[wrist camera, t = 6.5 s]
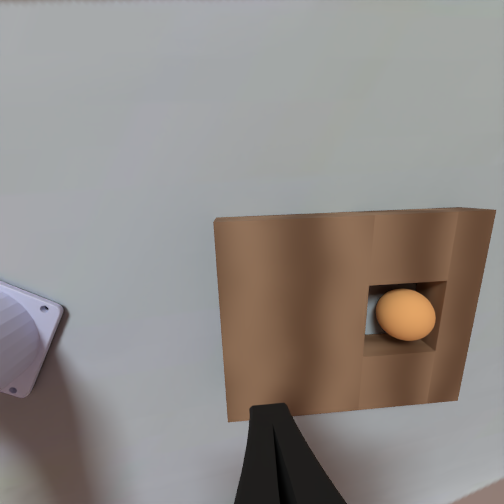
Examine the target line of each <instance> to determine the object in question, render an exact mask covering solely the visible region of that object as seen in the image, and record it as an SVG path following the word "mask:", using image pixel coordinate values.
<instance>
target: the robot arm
mask: <svg viewBox="0 0 504 504" xmlns="http://www.w3.org/2000/svg"><path fill="white" fill-rule="evenodd" d="M44 306H47V307H48V310H47V309H45V307H44ZM62 314H63V307H62V306H61V305H59V304H58V303H55V302H53V301H50V300H48V299H45V298H43V297H40V296H37V295H35V294H32V293H30V292H27V291H25V290H22V289H20V288H17V287H15V286H12V285H10V284H7V283H5V282H2V281H0V392H3V393H6V394H9V395H12V396H15V397H19V398H25V397H27V396H28V395H29V394H30V393H31V391H32V389H33V386H34V384H35V381H36V379H37V376H38V374H39V371H40V369H41V366H42V364H43V361H44V359H45V356H46V354H47V352H48V349H49V347H50V344H51V342H52V339H53V337H54V334H55V332H56V329H57V327H58V324H59V322H60V319H61V317H62ZM249 413H250V418H249V431H248V439H247V446H246V451H245V457H244V462H243V468H242V472H241V477H240V481H239V485H238V489H237V493H236V498H235V502H234V504H347V503H346V502H345V500H344V499H343V498H342V496H341V495H340V493H339V492H338V490H337V489H336V488H335V486H334V485H333V483H332V482H331V480H330V479H329V477H328V476H327V474H326V473H325V471H324V470H323V468H322V467H321V465H320V464H319V462H318V460H317V459H316V457H315V456H314V454H313V452H312V451H311V449H310V448H309V446H308V444H307V442H306V441H305V439H304V437H303V436H302V434H301V432H300V430H299V428H298V427H297V425H296V423H295V421H294V419H293V417H292V415H291V413H290V411H289V409H288V406H287V405H286V404H285V403H274V404H264V405H253V406H251V407H250V408H249Z"/></svg>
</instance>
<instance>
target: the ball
mask: <svg viewBox="0 0 504 504" xmlns="http://www.w3.org/2000/svg"><path fill="white" fill-rule="evenodd" d="M376 317H377V320H378V322H379V324H380V326H381V327H382V328H383V329H384V331H386V332H387V333H388V334H389V335H391V336H393V337H395V338H397V339H400V340H405V341H414V340H419V339H421V338H423V337H425V336H427V335H428V334H429V333H430V332H431V331H432V329H433V327H434V325H435V320H436V316H435V311H434V308H433V306H432V305H431V303H430V302H429V300H428V299H427V298H426V297H424V296H423V295H422V294H420V293H418V292H416V291H414V290H410V289H403V288H400V289H394V290H391V291H388V292H387V293H385V294H384V295H383V296H382V297H381V298H380V299H379V301H378V303H377V306H376Z"/></svg>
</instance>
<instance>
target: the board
mask: <svg viewBox="0 0 504 504" xmlns="http://www.w3.org/2000/svg"><path fill="white" fill-rule="evenodd" d="M495 214H496V210H491V209H476V208H462V207H456V208H432V209H409V210H385V211H362V212H338V213H315V214H291V215H268V216H244V217H221V218H216V219H215V221H214V222H213V223H214V237H215V251H216V264H217V278H218V292H219V305H220V319H221V333H222V346H223V360H224V374H225V387H226V401H227V415H228V422H236V421H247V420H249V418H250V413H249V408H250V407H251V406H253V405H264V404H274V403H285V404H286V405H287V406H288V409H289V411H290V413H291V415H292V416H300V415H310V414H321V413H331V412H342V411H352V410H363V409H373V408H384V407H395V406H405V405H416V404H426V403H437V402H447V401H458V396H459V391H460V386H461V381H462V376H463V371H464V366H465V362H466V357H467V352H468V347H469V342H470V337H471V332H472V327H473V322H474V317H475V312H476V307H477V302H478V297H479V293H480V288H481V283H482V278H483V273H484V268H485V263H486V258H487V253H488V248H489V243H490V238H491V233H492V228H493V224H494V219H495ZM402 283H417V286H416V292H418V293H420V294H422V295H423V296H424V297H426V298H427V299H428V300H429V302H430V303H431V305H432V306H433V308H434V311H435V316H436V320H435V325H434V327H433V329H432V331H431V332H430V333H429V334H428V335H427V336H425V337H423V338H421V339H419V340H414V341H405V340H400V339H397V338H395V337H393V336H391V335H389V334H388V333H383V334H369V335H365V326H366V315H367V303H368V291H369V286H370V285H386V284H402Z"/></svg>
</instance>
